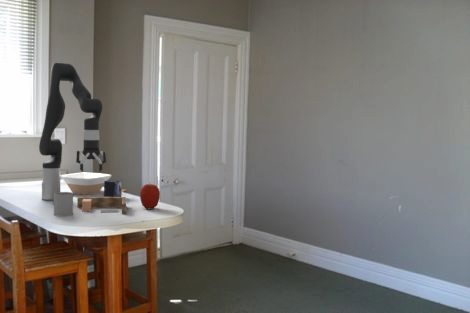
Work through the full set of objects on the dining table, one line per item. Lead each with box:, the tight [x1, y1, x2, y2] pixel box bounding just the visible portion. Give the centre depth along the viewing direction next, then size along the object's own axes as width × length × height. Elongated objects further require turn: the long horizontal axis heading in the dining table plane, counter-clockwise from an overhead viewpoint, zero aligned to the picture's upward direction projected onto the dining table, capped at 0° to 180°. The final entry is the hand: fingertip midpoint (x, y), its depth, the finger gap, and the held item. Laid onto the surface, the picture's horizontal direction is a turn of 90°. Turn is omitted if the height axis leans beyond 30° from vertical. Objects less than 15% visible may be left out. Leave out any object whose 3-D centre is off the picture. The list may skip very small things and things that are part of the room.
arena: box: [76, 196, 127, 215], centre depth 254 cm, size 24×20×5 cm
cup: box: [53, 191, 74, 217], centre depth 241 cm, size 8×8×10 cm
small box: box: [103, 178, 123, 197], centre depth 289 cm, size 11×6×10 cm, turn 168°
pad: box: [100, 209, 119, 213], centre depth 252 cm, size 8×5×1 cm, turn 102°
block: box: [81, 199, 92, 212], centre depth 254 cm, size 4×7×5 cm, turn 12°
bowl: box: [60, 171, 112, 196], centre depth 305 cm, size 24×25×11 cm
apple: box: [139, 183, 161, 210], centre depth 261 cm, size 10×10×14 cm
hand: (91, 171), depth 255 cm, fingers open, 8 cm apart
